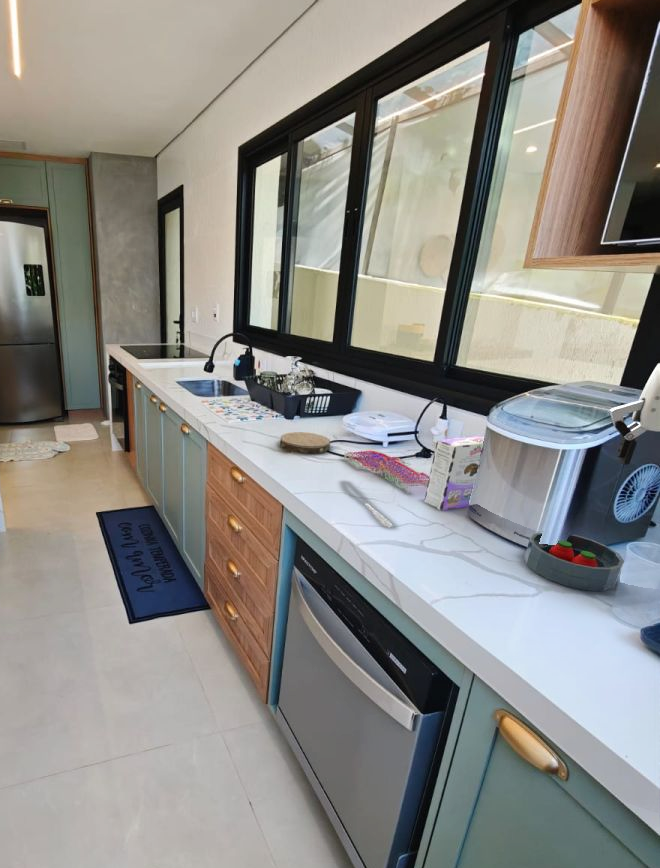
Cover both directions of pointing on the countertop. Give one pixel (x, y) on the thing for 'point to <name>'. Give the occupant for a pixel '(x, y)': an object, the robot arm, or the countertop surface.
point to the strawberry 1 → (562, 551)
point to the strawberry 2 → (585, 559)
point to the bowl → (571, 572)
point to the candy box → (453, 472)
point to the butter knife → (380, 517)
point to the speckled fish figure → (393, 468)
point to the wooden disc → (304, 443)
